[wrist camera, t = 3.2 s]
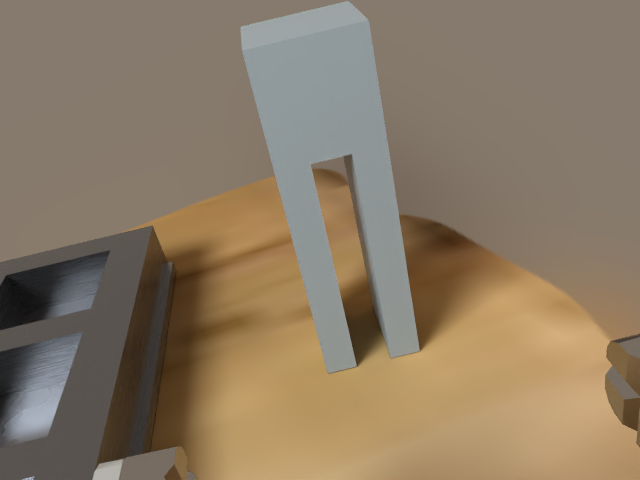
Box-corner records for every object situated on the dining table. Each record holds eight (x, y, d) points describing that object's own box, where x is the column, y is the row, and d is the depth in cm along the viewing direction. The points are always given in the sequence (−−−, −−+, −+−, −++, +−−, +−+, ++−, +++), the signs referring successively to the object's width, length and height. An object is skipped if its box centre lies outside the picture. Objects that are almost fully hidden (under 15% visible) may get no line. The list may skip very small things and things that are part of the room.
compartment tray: (105, 759, 15) (53, 703, 13) (-301, 859, 15) (-401, 815, 13) (176, 270, 34) (158, 224, 32) (-1, 313, 34) (-27, 269, 32)
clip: (419, 351, 24) (368, 20, 18) (327, 373, 24) (241, 50, 18) (398, 299, 27) (347, 0, 21) (316, 319, 27) (240, 26, 21)
